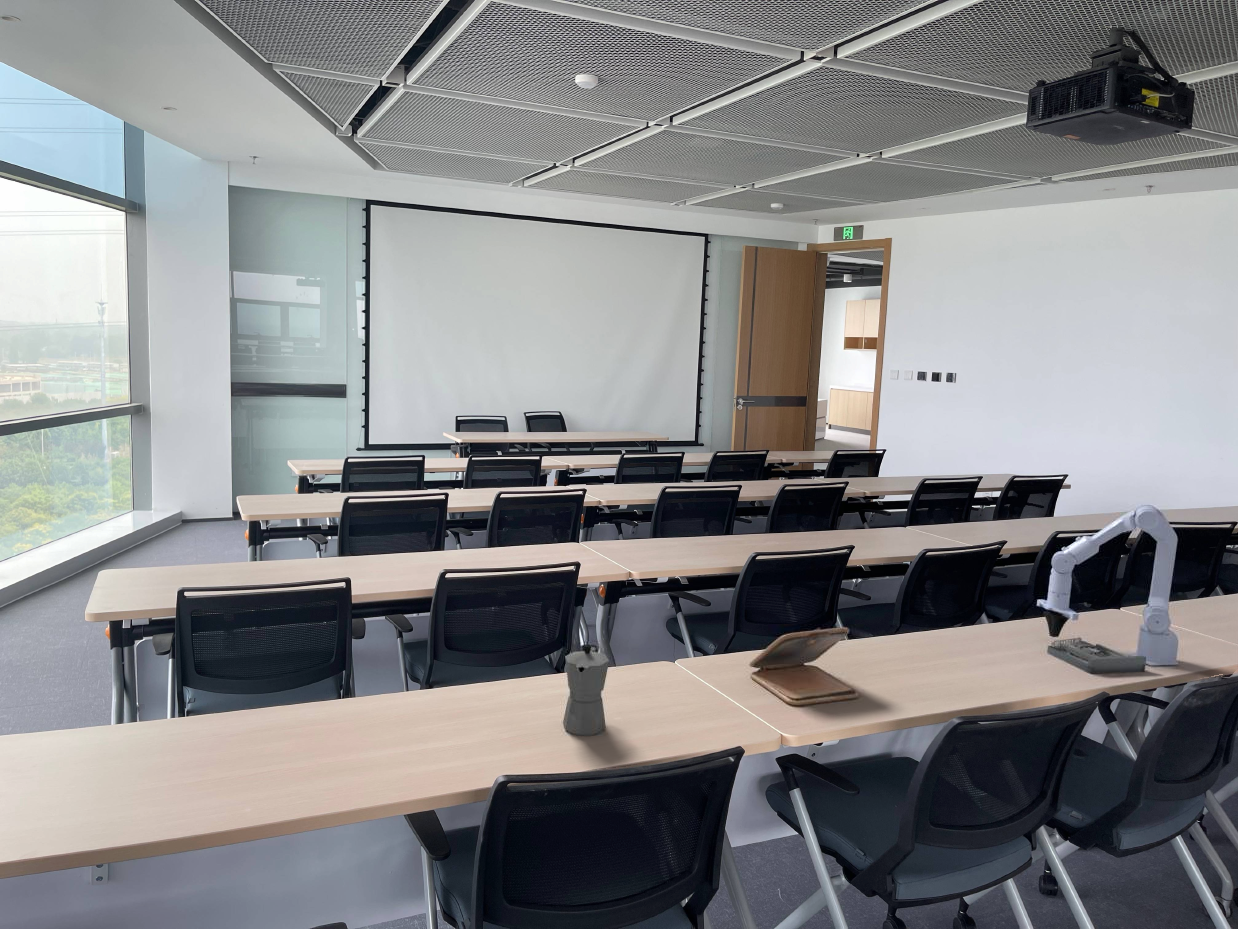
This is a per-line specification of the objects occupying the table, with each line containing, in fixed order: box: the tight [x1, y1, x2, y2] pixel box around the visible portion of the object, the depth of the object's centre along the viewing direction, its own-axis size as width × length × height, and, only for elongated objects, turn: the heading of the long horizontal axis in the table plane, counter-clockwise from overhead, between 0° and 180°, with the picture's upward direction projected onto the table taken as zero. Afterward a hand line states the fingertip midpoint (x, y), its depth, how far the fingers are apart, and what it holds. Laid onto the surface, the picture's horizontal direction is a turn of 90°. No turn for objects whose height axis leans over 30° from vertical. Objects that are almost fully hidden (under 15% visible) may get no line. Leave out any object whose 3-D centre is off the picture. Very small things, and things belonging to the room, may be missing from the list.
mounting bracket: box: [1046, 643, 1147, 675], centre depth 231 cm, size 17×16×4 cm
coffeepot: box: [562, 644, 610, 737], centre depth 175 cm, size 15×9×18 cm, turn 171°
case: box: [748, 626, 859, 706], centre depth 202 cm, size 20×21×16 cm
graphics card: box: [1050, 636, 1123, 662], centre depth 234 cm, size 17×4×12 cm
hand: (1054, 636), depth 246 cm, fingers closed
